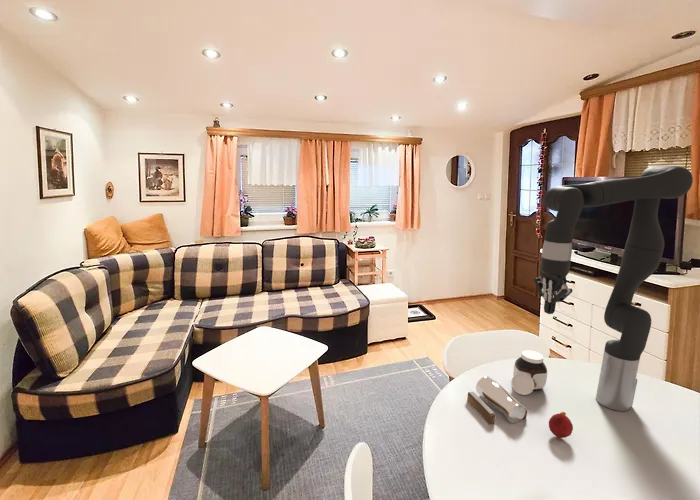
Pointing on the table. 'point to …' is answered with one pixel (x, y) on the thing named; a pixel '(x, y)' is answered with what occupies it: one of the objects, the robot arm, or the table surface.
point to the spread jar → (529, 373)
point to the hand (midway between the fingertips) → (548, 312)
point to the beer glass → (500, 399)
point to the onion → (560, 425)
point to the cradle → (485, 408)
